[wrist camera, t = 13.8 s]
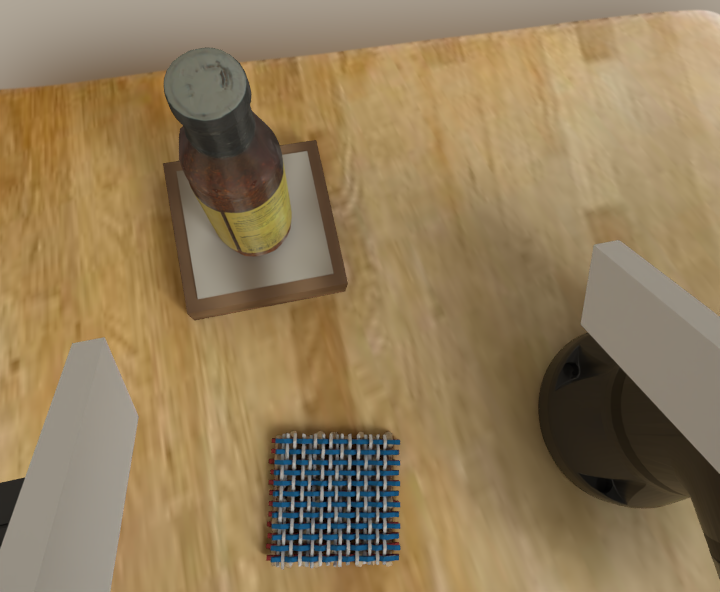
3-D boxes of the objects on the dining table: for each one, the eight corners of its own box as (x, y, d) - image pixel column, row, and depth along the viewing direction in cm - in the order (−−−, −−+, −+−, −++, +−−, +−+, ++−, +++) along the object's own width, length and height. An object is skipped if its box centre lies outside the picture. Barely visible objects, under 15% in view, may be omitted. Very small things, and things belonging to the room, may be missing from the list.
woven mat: (270, 429, 47) (269, 430, 45) (397, 431, 48) (401, 431, 46) (264, 565, 44) (262, 572, 42) (397, 564, 45) (401, 570, 43)
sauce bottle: (302, 201, 47) (301, 51, 28) (278, 270, 46) (259, 161, 26) (227, 177, 47) (173, 8, 28) (200, 245, 45) (124, 117, 26)
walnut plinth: (315, 155, 52) (316, 138, 48) (345, 291, 49) (347, 282, 46) (171, 178, 50) (162, 162, 47) (194, 320, 47) (186, 313, 44)
